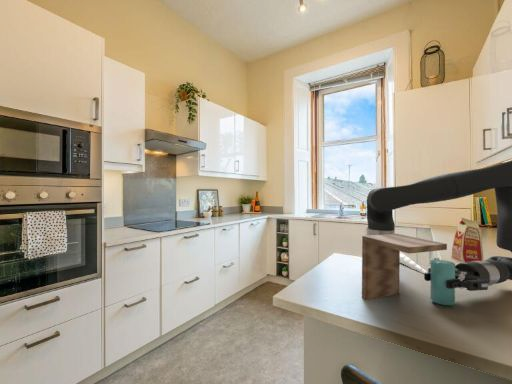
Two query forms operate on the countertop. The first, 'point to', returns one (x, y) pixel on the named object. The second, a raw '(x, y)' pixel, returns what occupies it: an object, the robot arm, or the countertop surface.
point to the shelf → (388, 261)
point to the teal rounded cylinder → (442, 282)
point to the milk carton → (467, 242)
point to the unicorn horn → (410, 263)
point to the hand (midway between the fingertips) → (436, 280)
